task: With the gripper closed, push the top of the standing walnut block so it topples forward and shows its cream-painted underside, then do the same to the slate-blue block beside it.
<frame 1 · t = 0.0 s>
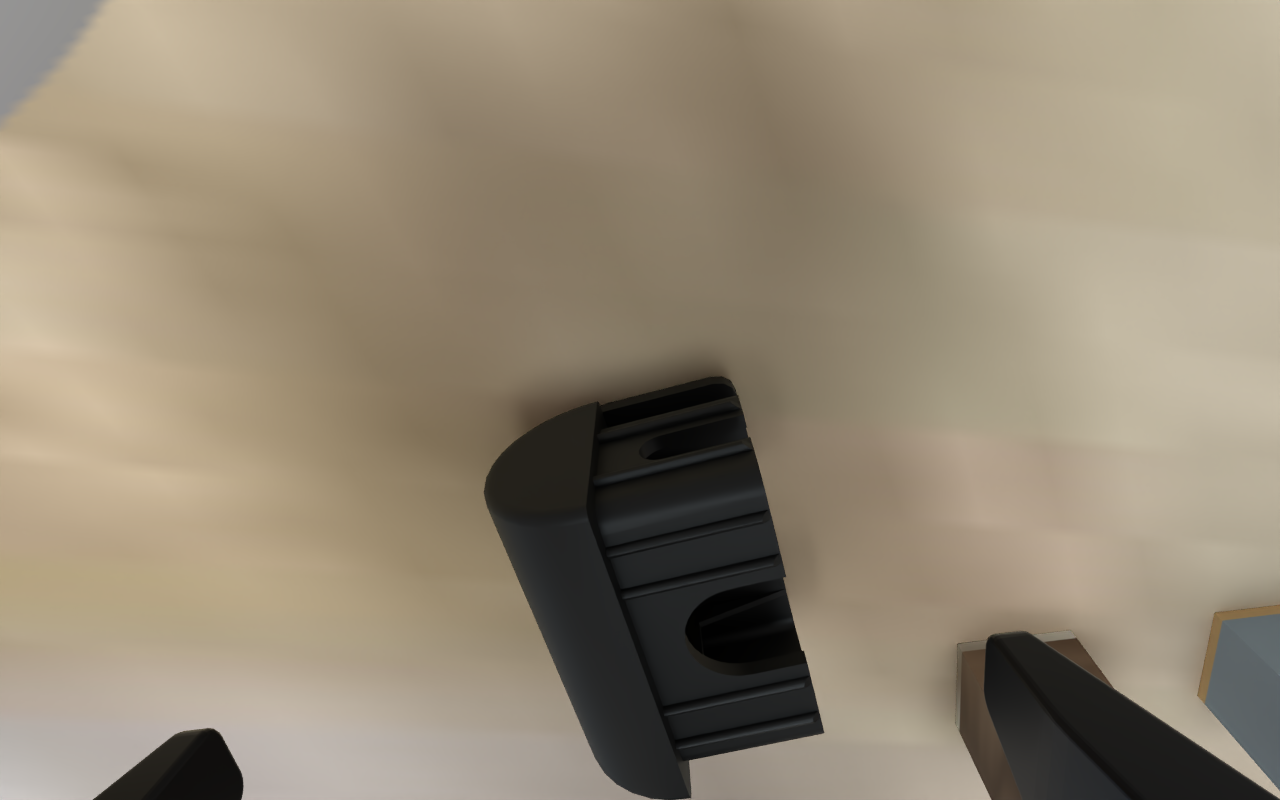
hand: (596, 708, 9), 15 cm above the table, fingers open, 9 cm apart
end cap: (656, 514, 25), on the table
walnut block: (1011, 678, 28), on the table
slate block: (1262, 648, 28), on the table
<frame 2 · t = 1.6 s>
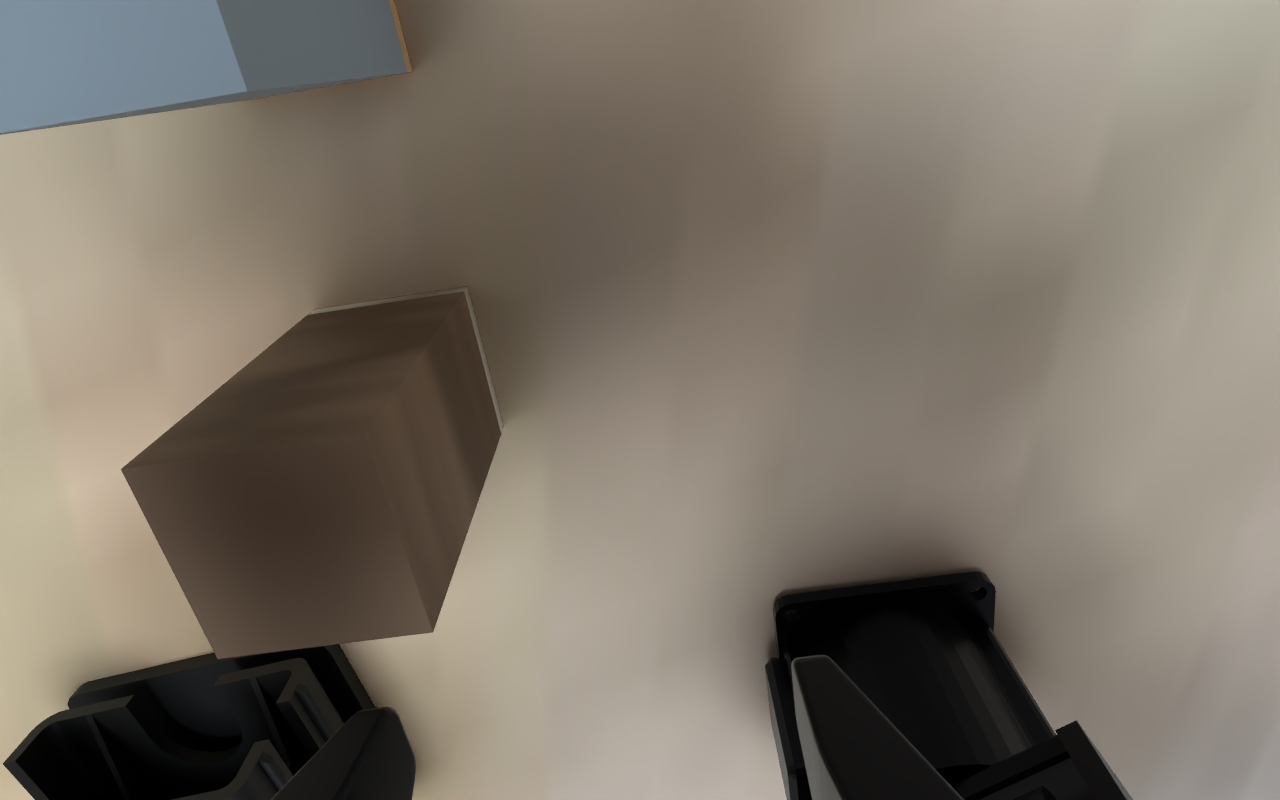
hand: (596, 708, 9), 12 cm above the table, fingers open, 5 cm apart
end cap: (254, 726, 26), on the table
walnut block: (412, 370, 20), on the table
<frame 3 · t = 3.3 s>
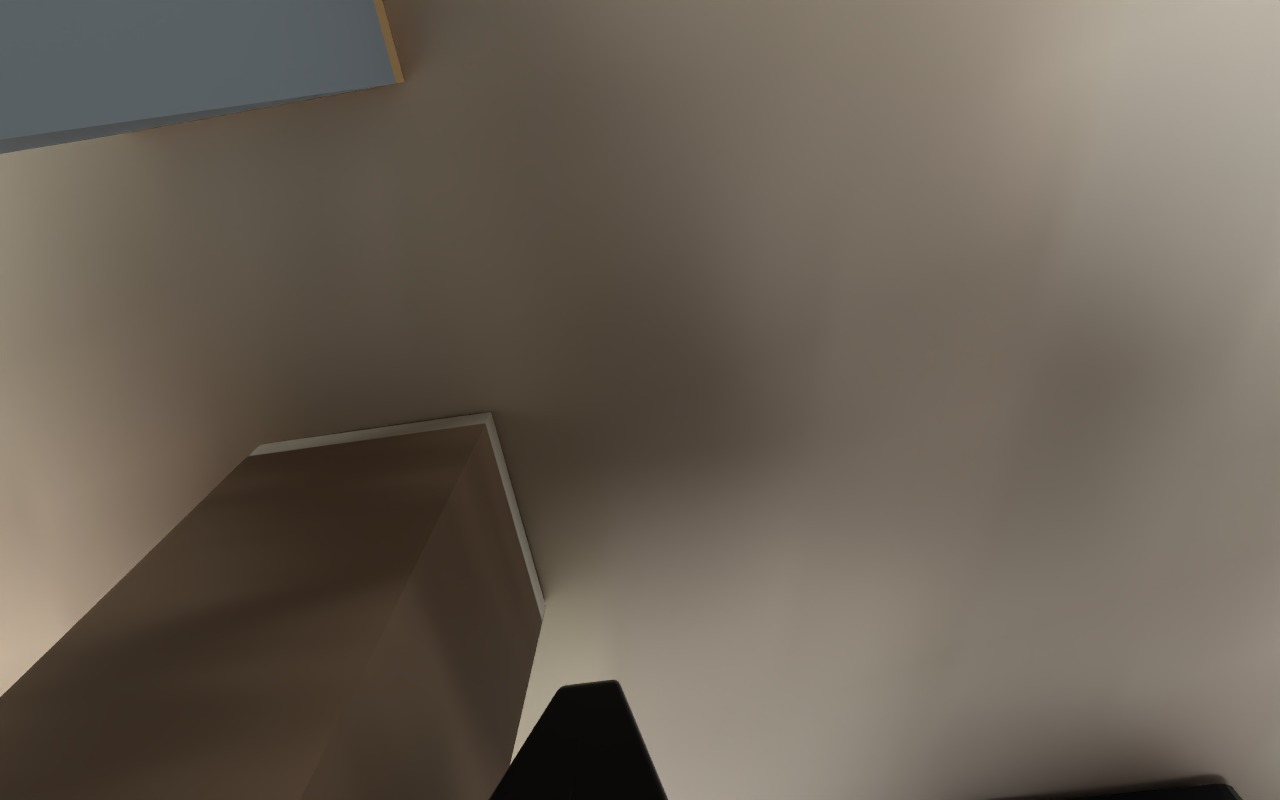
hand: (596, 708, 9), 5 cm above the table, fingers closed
walnut block: (409, 528, 13), on the table, touching gripper
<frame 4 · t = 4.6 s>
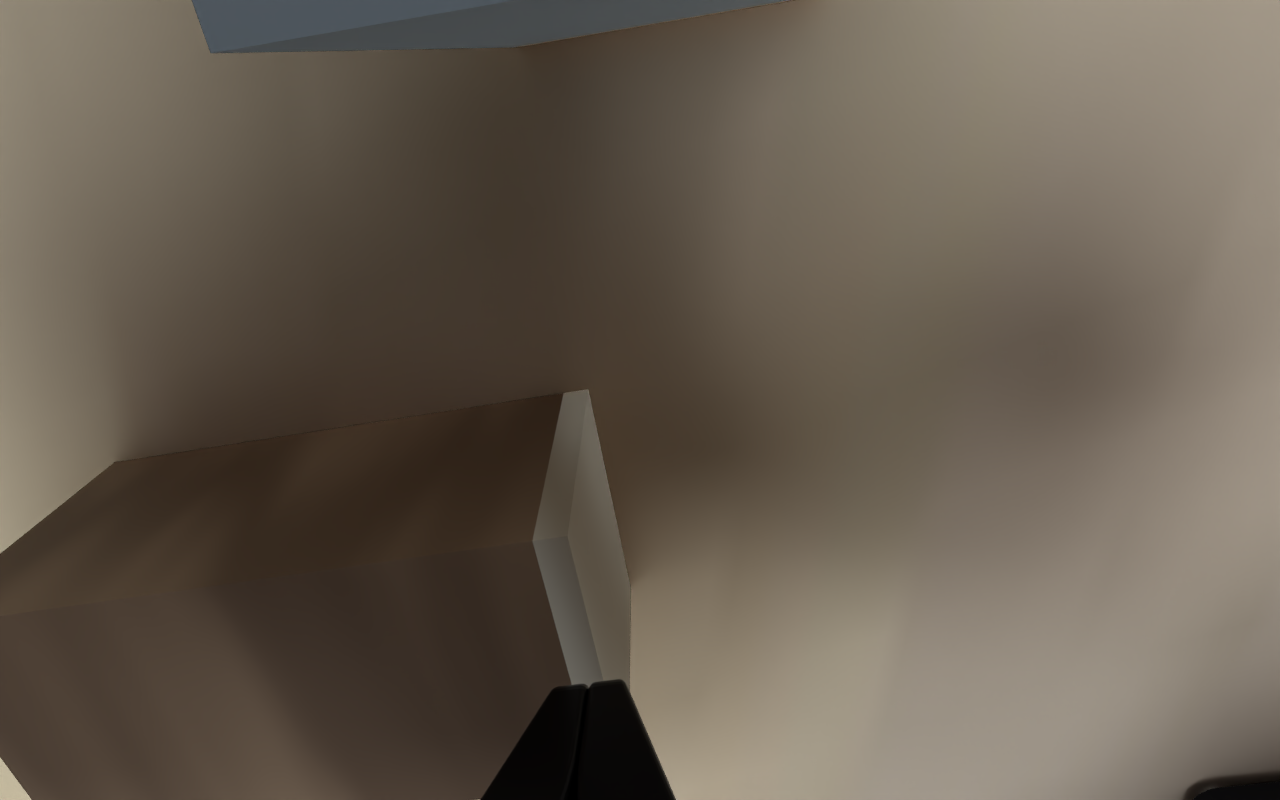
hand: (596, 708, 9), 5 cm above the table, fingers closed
walnut block: (606, 567, 11), point 2 cm above the table, tilted 90°
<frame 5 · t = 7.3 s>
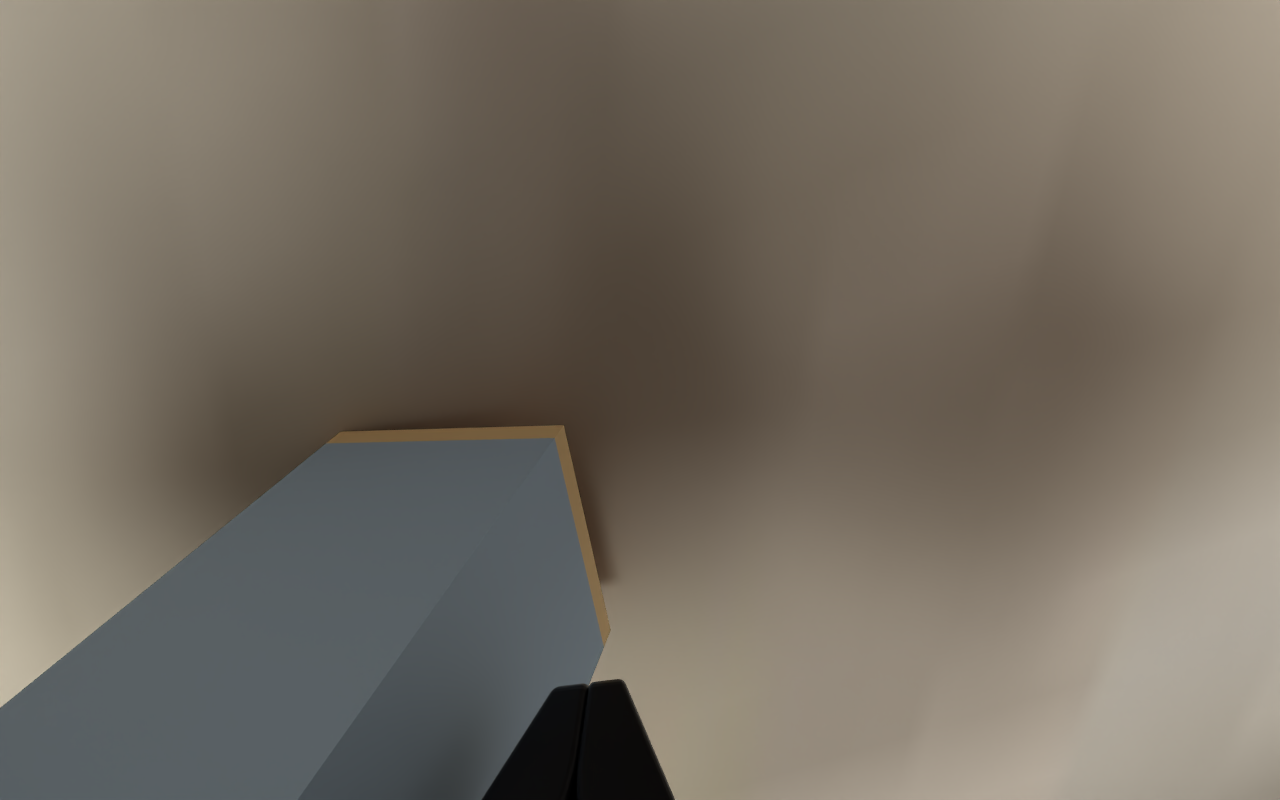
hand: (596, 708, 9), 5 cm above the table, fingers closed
slate block: (478, 532, 13), on the table, tilted 15°
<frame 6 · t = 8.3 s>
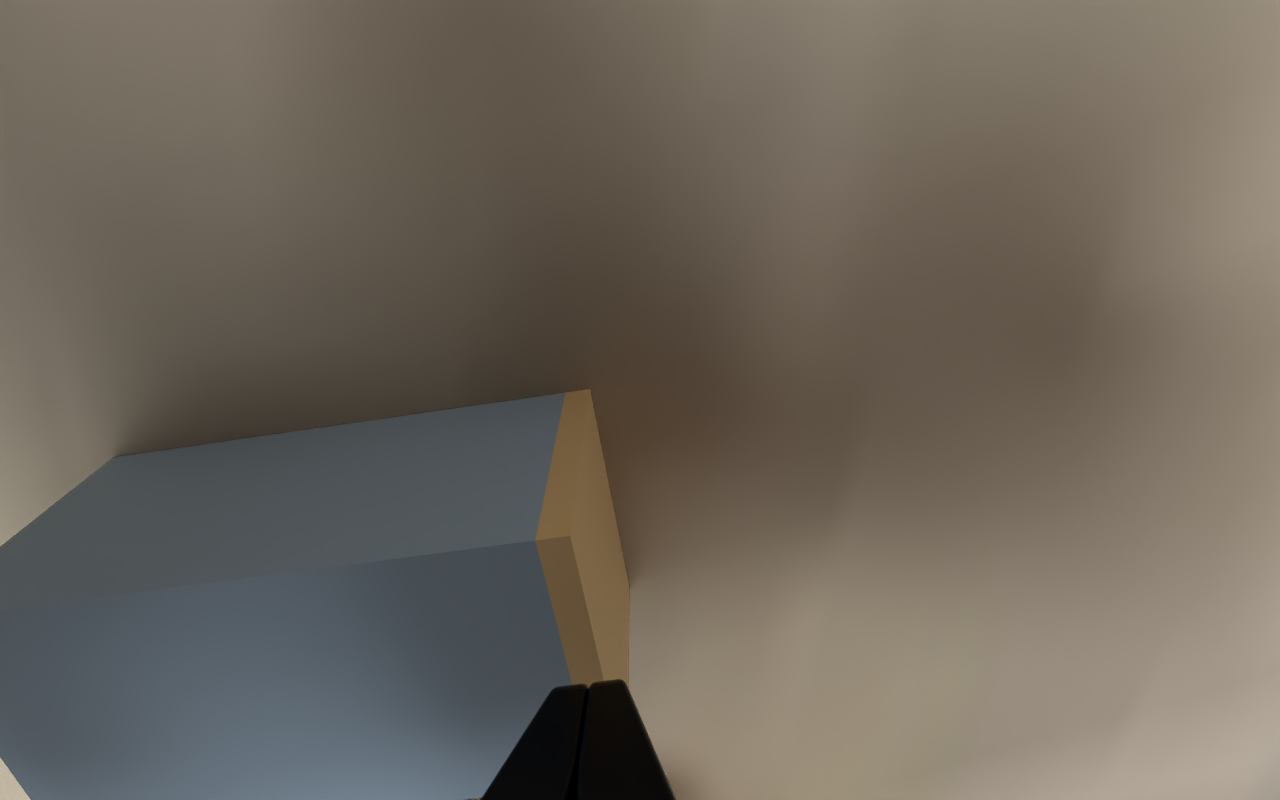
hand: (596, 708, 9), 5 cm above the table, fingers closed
slate block: (607, 567, 11), point 2 cm above the table, tilted 90°
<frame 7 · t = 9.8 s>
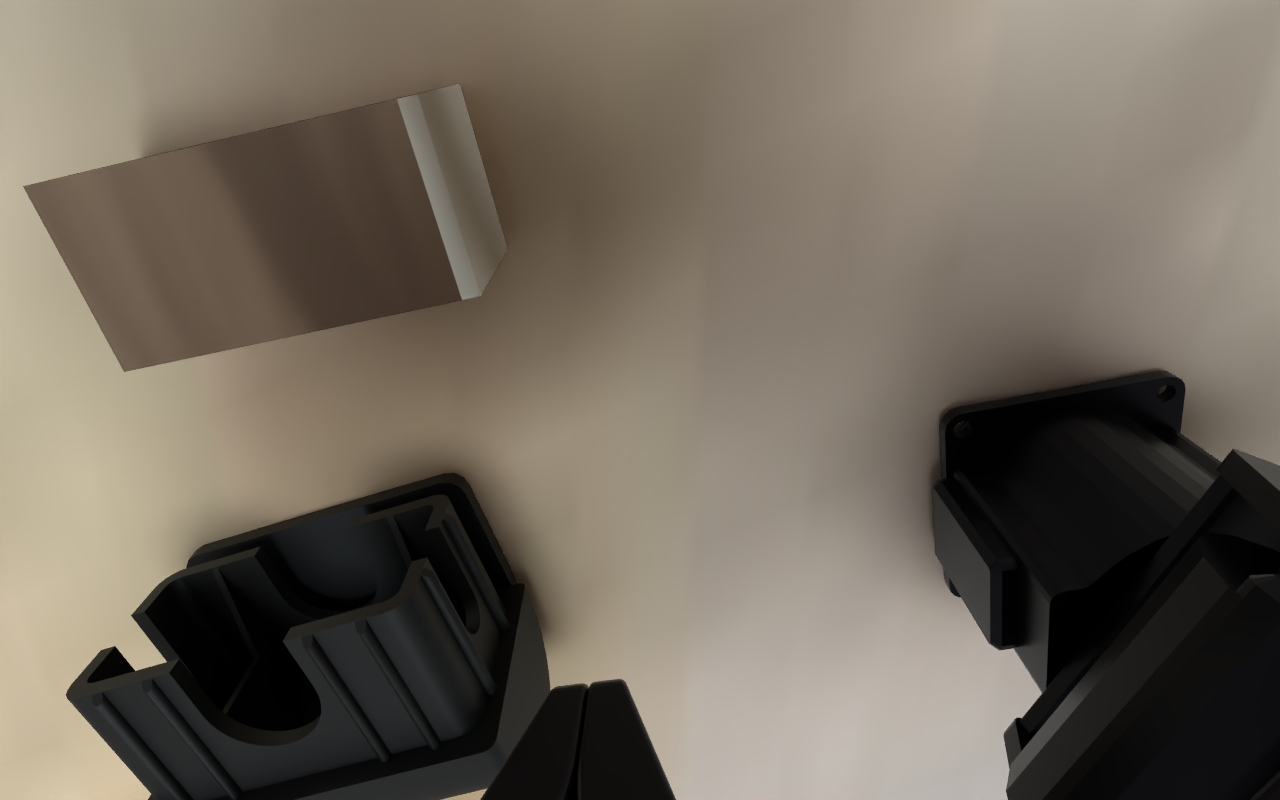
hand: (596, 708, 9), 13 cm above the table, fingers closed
end cap: (378, 593, 24), on the table
walnut block: (469, 183, 17), point 2 cm above the table, tilted 90°
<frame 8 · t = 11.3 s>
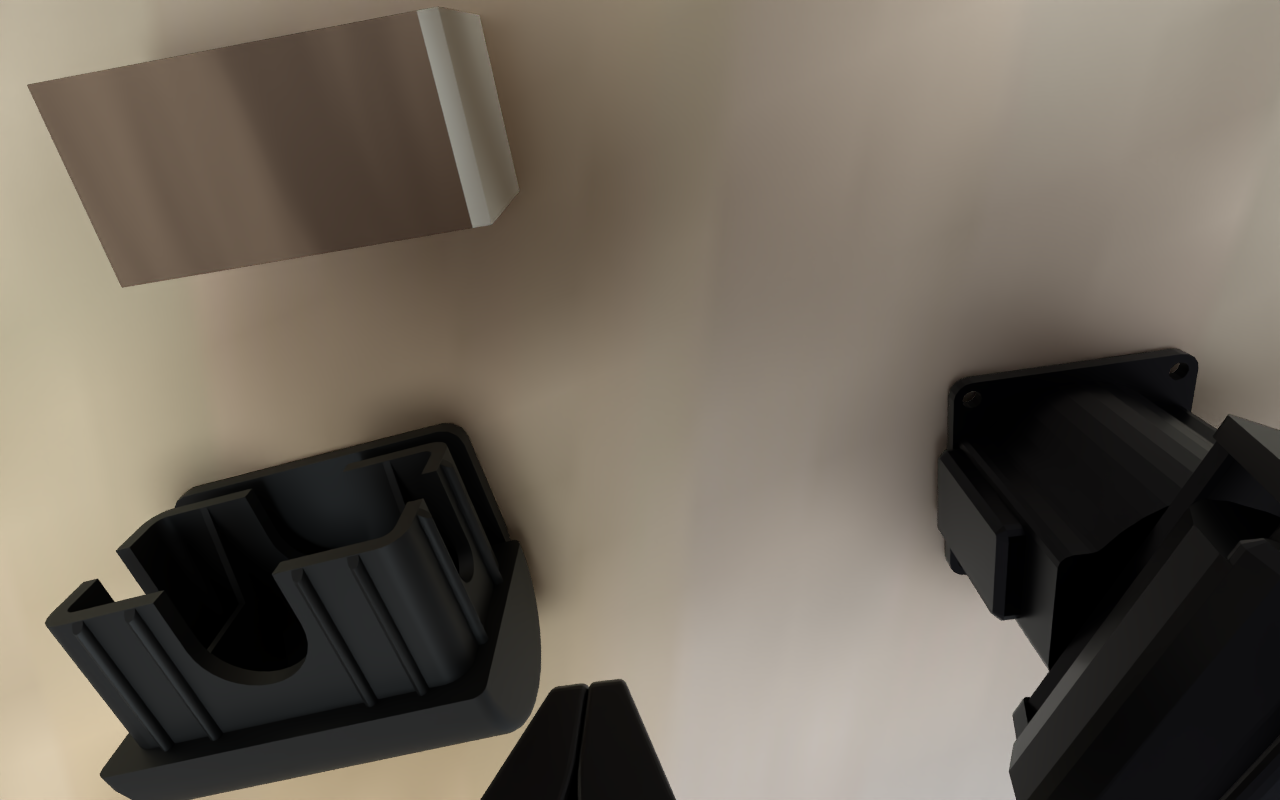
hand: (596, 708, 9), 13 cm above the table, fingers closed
end cap: (369, 545, 24), on the table
walnut block: (485, 113, 16), point 2 cm above the table, tilted 90°
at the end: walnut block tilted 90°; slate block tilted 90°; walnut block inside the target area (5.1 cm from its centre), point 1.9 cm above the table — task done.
